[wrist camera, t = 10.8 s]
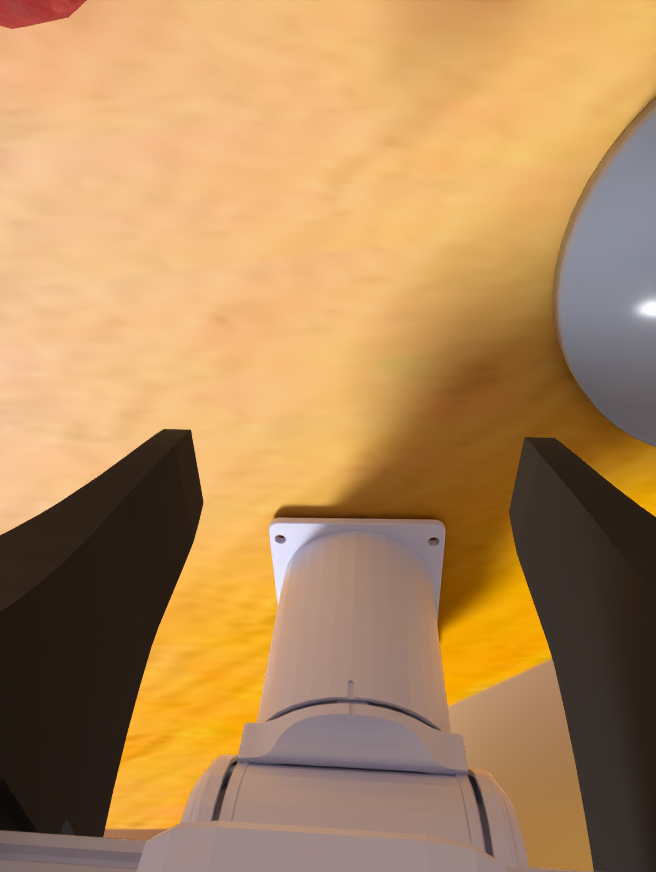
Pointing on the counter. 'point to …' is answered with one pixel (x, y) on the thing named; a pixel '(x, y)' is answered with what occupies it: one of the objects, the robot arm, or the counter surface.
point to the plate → (614, 283)
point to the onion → (35, 11)
